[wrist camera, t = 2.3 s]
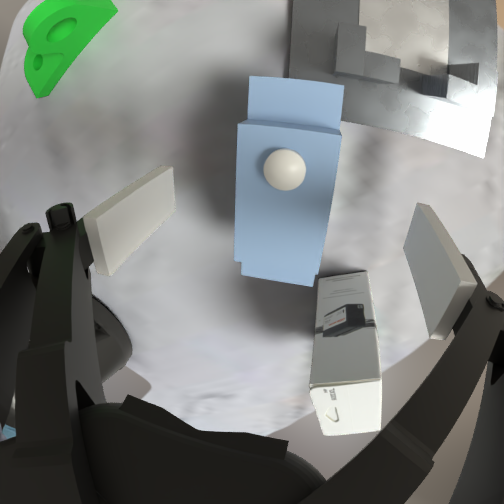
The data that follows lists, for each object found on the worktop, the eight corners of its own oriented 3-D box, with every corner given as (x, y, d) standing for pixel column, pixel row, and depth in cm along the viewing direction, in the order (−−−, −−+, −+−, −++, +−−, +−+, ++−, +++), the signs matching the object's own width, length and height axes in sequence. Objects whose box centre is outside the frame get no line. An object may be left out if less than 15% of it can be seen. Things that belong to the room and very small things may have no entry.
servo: (258, 234, 26) (231, 298, 19) (268, 78, 19) (236, 74, 12) (316, 243, 25) (310, 312, 18) (338, 86, 18) (348, 84, 11)
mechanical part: (95, -21, 15) (35, -32, 8) (119, 11, 17) (54, 2, 11) (31, 61, 20) (-25, 72, 14) (49, 95, 22) (-9, 112, 16)
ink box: (376, 333, 29) (381, 433, 19) (331, 339, 31) (323, 438, 21) (369, 268, 25) (384, 379, 15) (316, 276, 27) (305, 386, 17)
